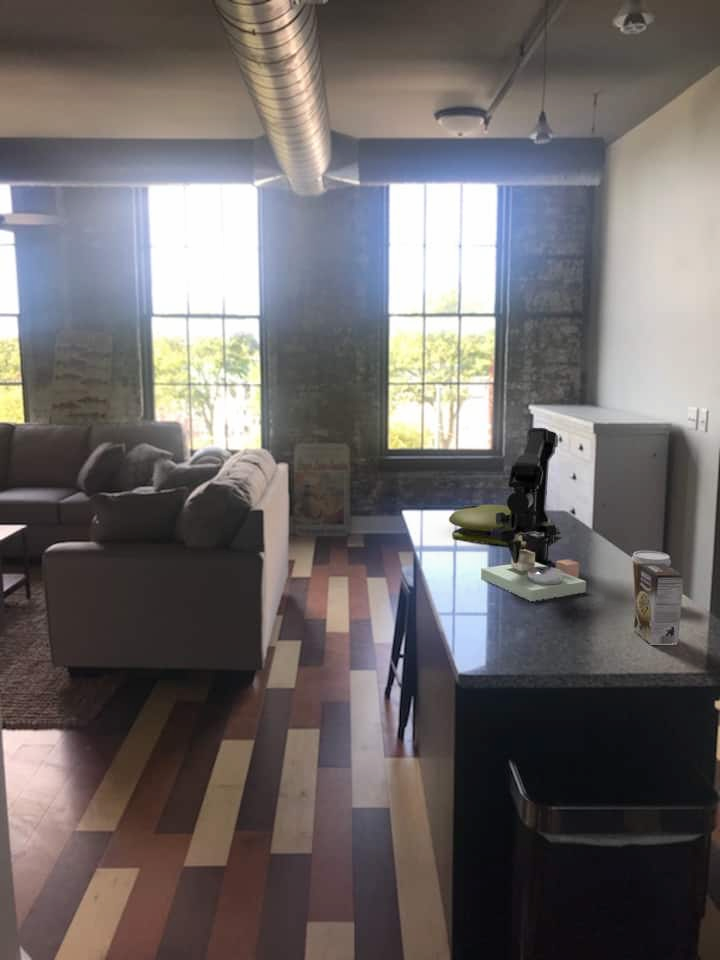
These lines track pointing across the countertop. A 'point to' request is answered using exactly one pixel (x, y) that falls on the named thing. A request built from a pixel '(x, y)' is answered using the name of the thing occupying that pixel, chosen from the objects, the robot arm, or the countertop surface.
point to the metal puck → (545, 575)
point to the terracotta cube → (568, 567)
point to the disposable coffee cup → (647, 561)
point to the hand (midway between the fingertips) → (522, 561)
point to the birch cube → (524, 560)
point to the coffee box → (658, 603)
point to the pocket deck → (530, 583)
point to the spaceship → (481, 522)
